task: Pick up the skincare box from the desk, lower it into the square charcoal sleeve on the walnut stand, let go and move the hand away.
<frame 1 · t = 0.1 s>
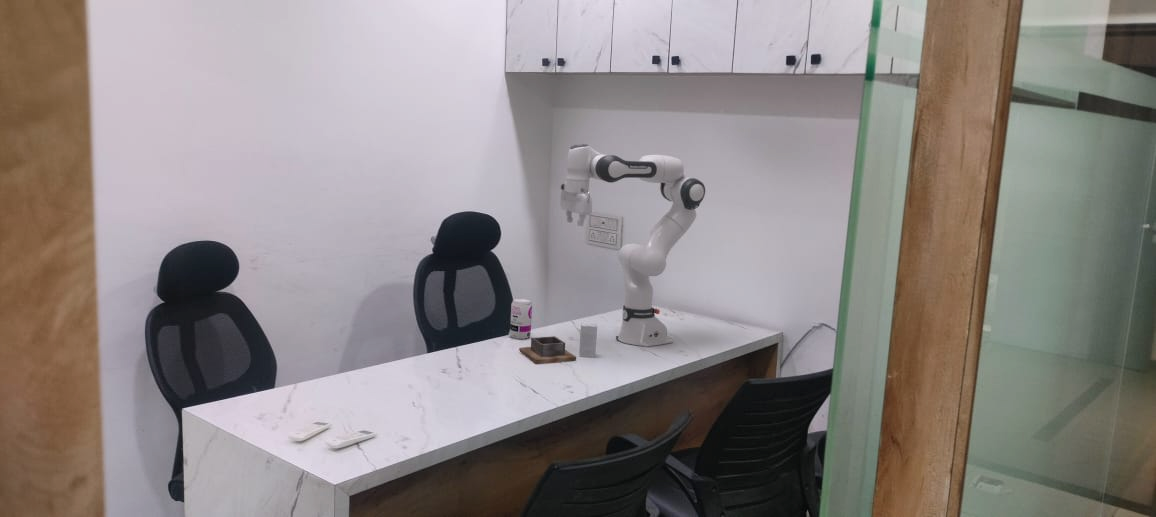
hand: (574, 224, 301), 48 cm above the table, tool pointing down, fingers open, 8 cm apart
supplement can: (520, 337, 317), on the table
skincare box: (587, 356, 297), on the table
bottle stand: (547, 356, 293), on the table
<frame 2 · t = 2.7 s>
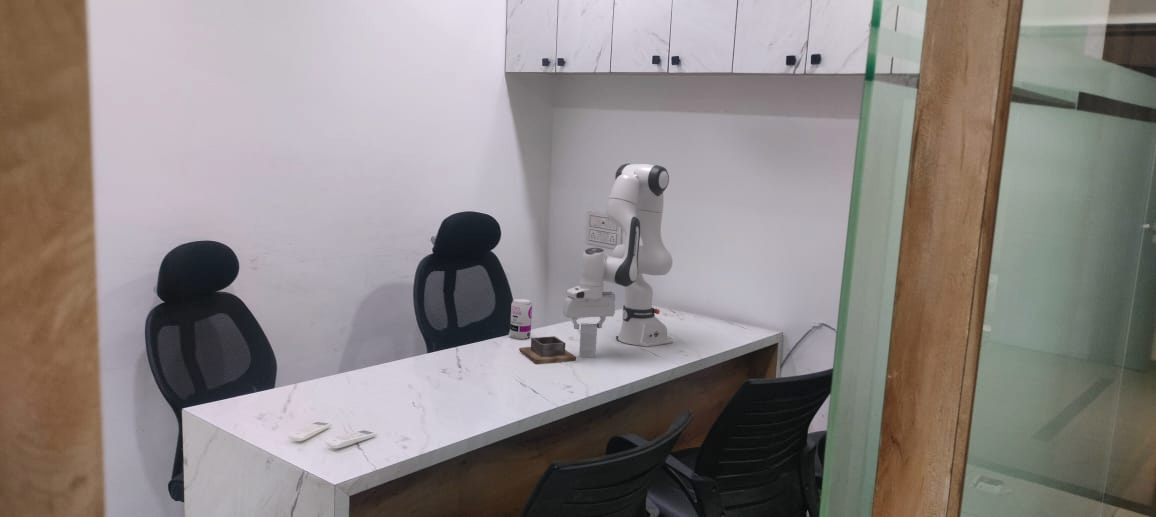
hand: (587, 328, 295), 11 cm above the table, tool pointing down, fingers open, 8 cm apart
skincare box: (587, 356, 297), on the table, touching gripper
everything else where it was.
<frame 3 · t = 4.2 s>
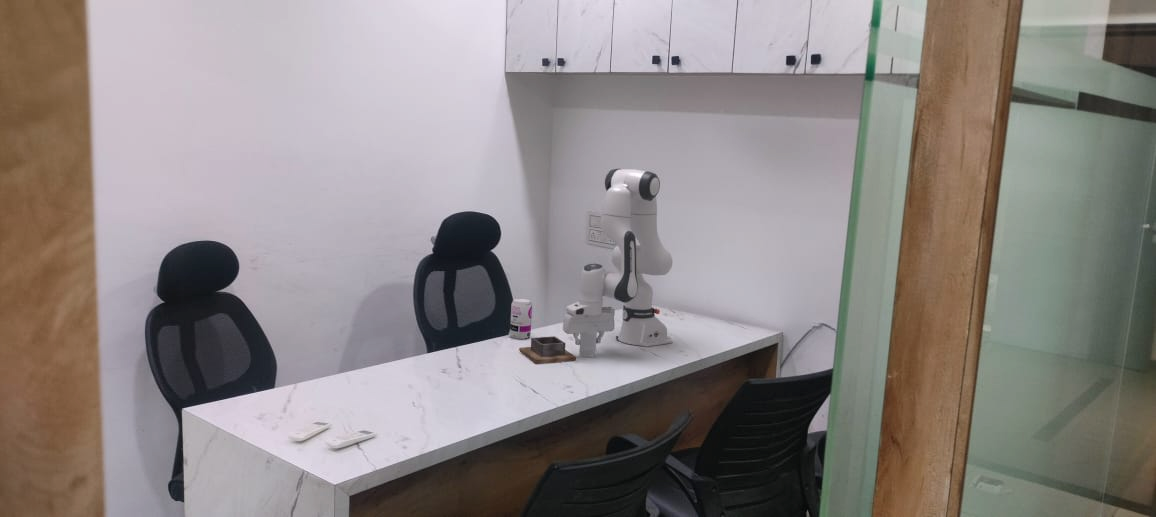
hand: (587, 343, 296), 5 cm above the table, tool pointing down, fingers closed on skincare box, 7 cm apart
skincare box: (587, 356, 297), on the table, touching gripper
everything else where it was.
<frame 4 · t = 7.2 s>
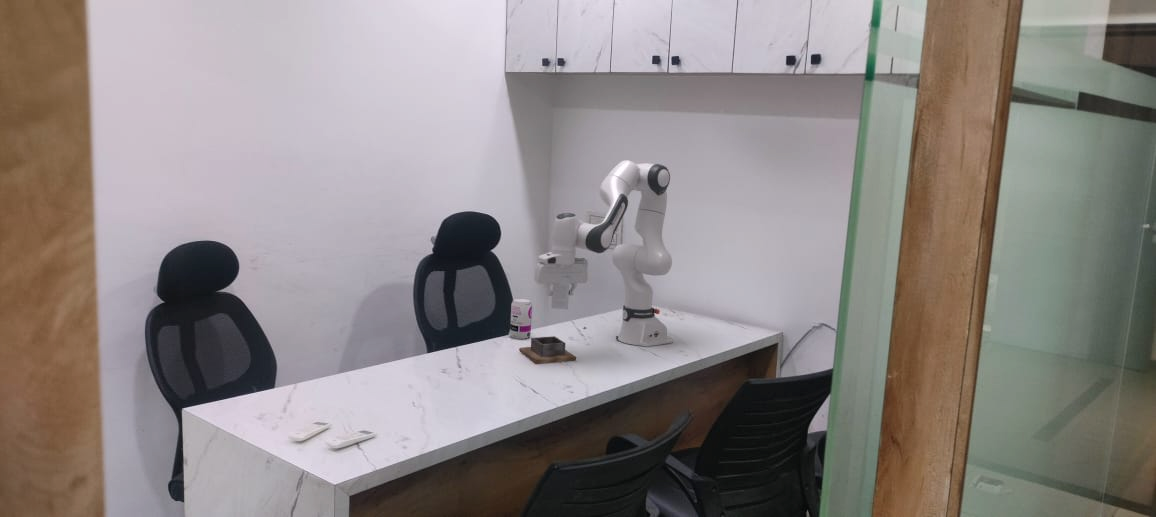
hand: (560, 295, 290), 23 cm above the table, tool pointing down, fingers closed on skincare box, 7 cm apart
skincare box: (559, 308, 290), point 18 cm above the table, touching gripper
everything else where it was.
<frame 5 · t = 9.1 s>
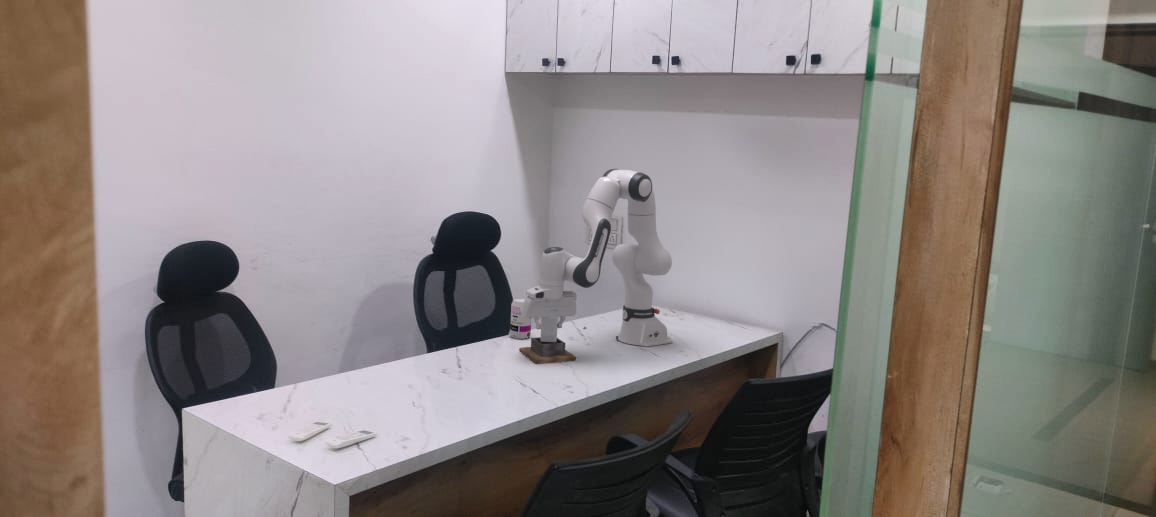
hand: (548, 328, 291), 11 cm above the table, tool pointing down, fingers closed on skincare box, 7 cm apart
skincare box: (548, 341, 292), point 6 cm above the table, touching gripper
everything else where it was.
when the fingers open (8 cm above the table, at t = 10.7 s): skincare box drops 1 cm, resting on bottle stand.
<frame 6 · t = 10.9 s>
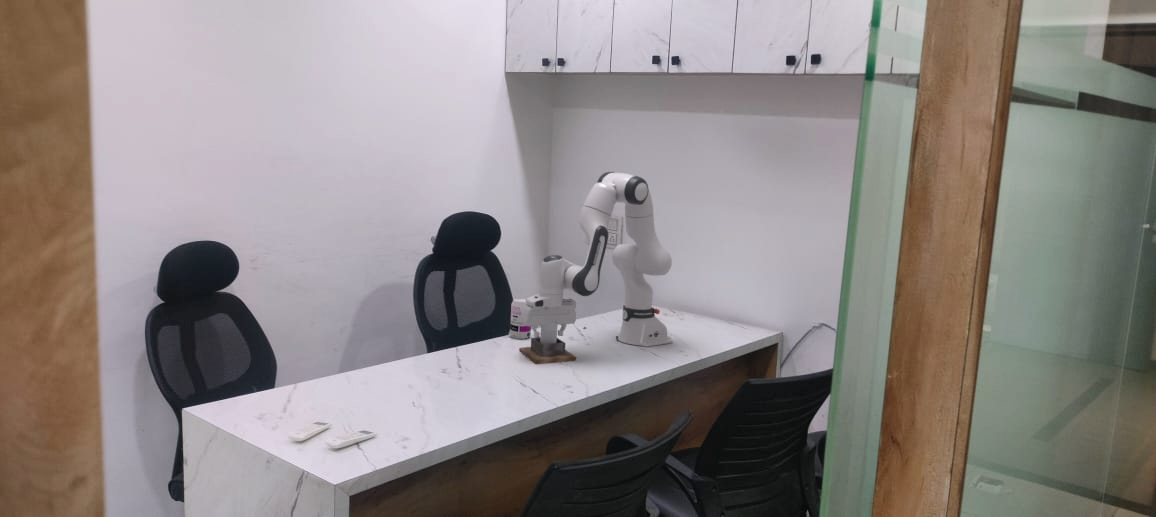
hand: (548, 336, 292), 8 cm above the table, tool pointing down, fingers open, 8 cm apart
skincare box: (547, 352, 293), point 1 cm above the table, touching bottle stand
everything else where it was.
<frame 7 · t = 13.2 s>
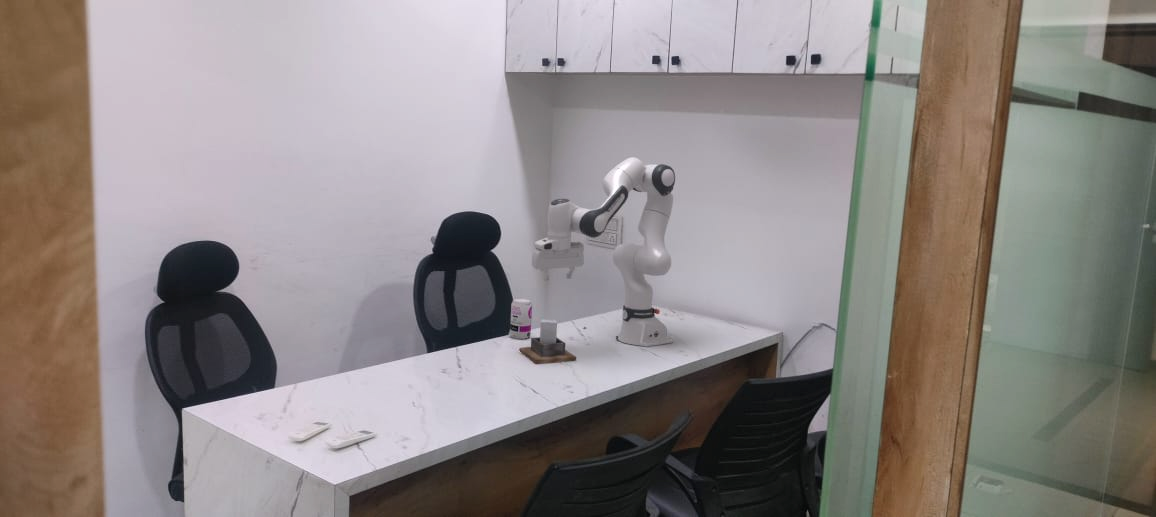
hand: (557, 279, 296), 28 cm above the table, tool pointing down, fingers open, 8 cm apart
nothing on the table moved.
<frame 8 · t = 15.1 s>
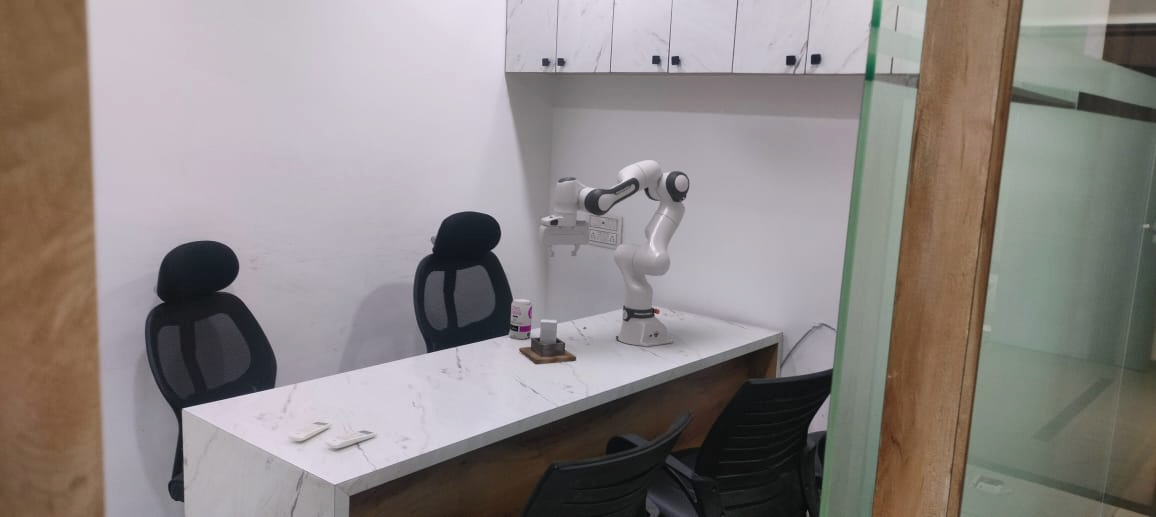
hand: (562, 256, 303), 35 cm above the table, tool pointing down, fingers open, 8 cm apart
nothing on the table moved.
at the end: skincare box 0.2 cm off-centre on the bottle stand, point 1.3 cm above the bottle stand's base; skincare box tilted 0°; the gripper is holding nothing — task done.
